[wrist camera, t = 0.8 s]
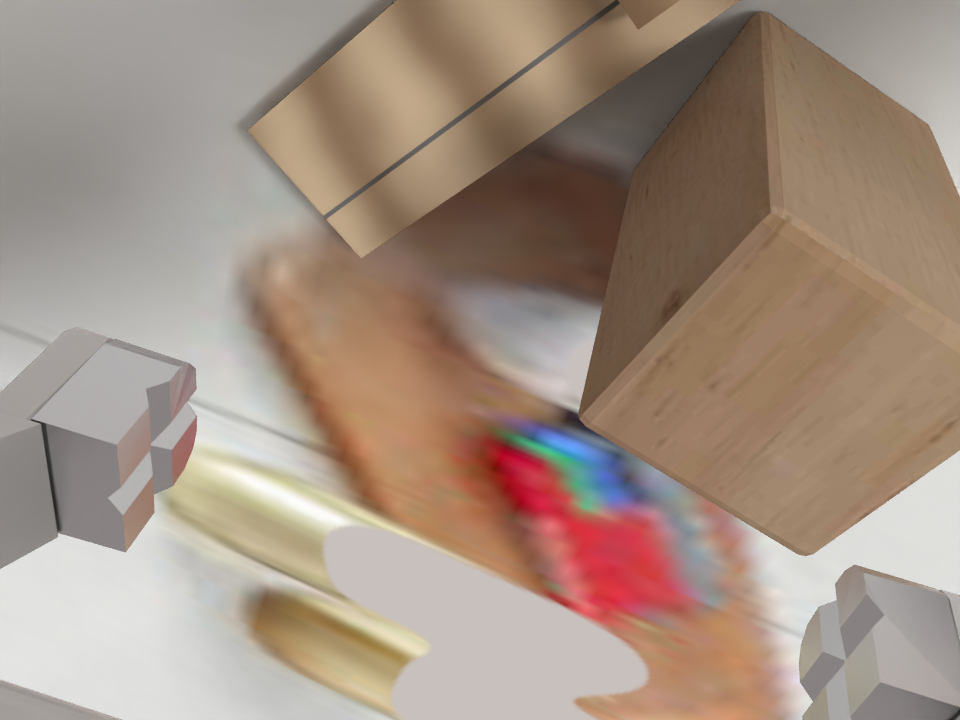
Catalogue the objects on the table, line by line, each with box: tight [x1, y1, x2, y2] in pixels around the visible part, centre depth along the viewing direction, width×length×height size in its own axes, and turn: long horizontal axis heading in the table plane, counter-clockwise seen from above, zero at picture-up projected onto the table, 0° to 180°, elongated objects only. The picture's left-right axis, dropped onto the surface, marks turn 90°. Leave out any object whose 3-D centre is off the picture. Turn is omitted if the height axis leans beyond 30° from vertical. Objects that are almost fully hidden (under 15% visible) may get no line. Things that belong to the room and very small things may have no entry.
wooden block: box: [578, 11, 960, 556], centre depth 36 cm, size 10×10×20 cm
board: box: [248, 0, 741, 258], centre depth 43 cm, size 24×9×2 cm, turn 130°
